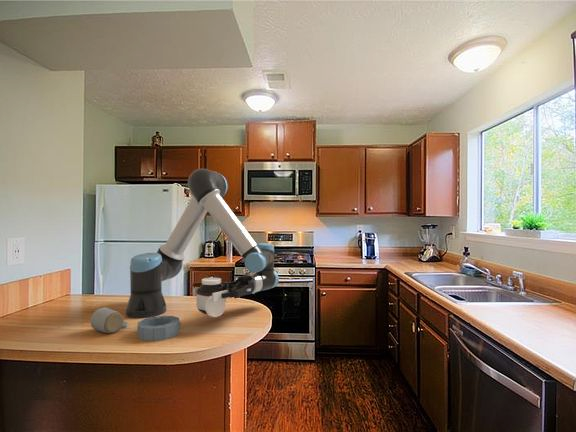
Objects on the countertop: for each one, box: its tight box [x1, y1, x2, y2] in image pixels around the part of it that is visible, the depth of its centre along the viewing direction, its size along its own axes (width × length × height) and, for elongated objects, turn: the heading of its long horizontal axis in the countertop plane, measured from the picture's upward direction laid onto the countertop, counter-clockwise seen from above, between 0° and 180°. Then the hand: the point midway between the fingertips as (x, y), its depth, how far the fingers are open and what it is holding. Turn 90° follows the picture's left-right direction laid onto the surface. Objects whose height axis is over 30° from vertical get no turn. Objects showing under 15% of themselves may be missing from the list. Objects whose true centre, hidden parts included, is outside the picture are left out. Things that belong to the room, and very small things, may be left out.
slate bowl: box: [136, 315, 181, 342], centre depth 111 cm, size 13×13×4 cm
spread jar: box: [196, 276, 227, 318], centre depth 118 cm, size 12×11×12 cm
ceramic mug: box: [90, 307, 129, 334], centre depth 115 cm, size 11×8×8 cm
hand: (203, 294), depth 115 cm, fingers closed on spread jar, 10 cm apart
